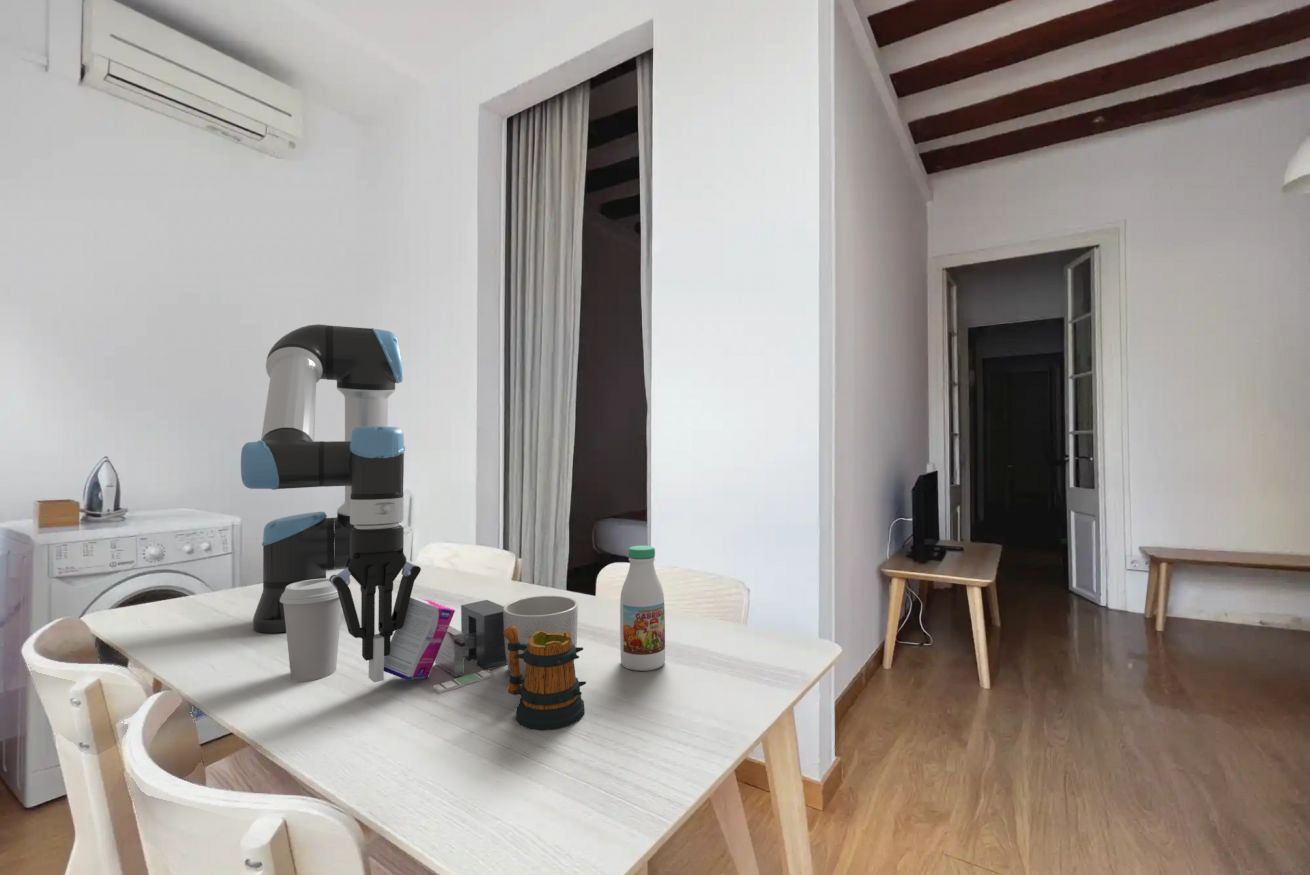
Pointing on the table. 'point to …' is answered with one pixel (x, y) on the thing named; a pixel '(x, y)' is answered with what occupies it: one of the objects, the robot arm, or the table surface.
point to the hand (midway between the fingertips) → (376, 678)
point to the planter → (540, 619)
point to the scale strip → (463, 681)
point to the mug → (545, 680)
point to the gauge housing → (484, 633)
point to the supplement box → (418, 640)
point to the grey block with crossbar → (455, 650)
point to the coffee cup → (312, 628)
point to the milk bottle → (642, 613)
